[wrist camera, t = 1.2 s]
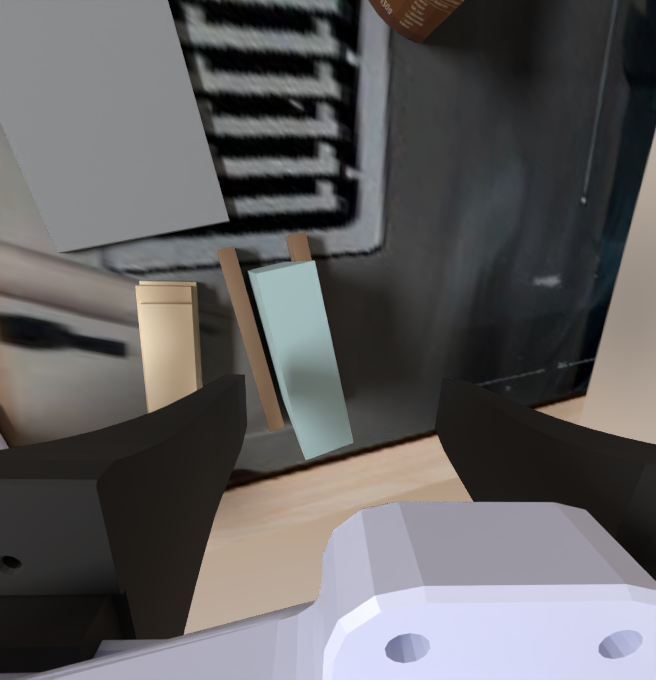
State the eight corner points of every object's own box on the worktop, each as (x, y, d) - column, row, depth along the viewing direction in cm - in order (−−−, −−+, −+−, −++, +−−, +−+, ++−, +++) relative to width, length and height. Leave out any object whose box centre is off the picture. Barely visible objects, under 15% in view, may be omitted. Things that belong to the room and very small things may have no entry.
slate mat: (62, 253, 17) (57, 252, 17) (-45, 3, 14) (-57, -8, 14) (229, 221, 19) (229, 220, 19) (166, -4, 16) (164, -14, 16)
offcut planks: (157, 433, 21) (147, 455, 19) (143, 280, 19) (130, 283, 17) (205, 428, 22) (201, 449, 20) (197, 281, 20) (192, 284, 17)
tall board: (281, 396, 23) (305, 460, 15) (247, 270, 20) (255, 274, 13) (314, 385, 23) (353, 442, 16) (285, 262, 21) (314, 260, 13)
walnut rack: (268, 421, 23) (270, 431, 22) (217, 251, 20) (216, 250, 18) (337, 398, 24) (343, 406, 23) (300, 233, 21) (305, 231, 19)
